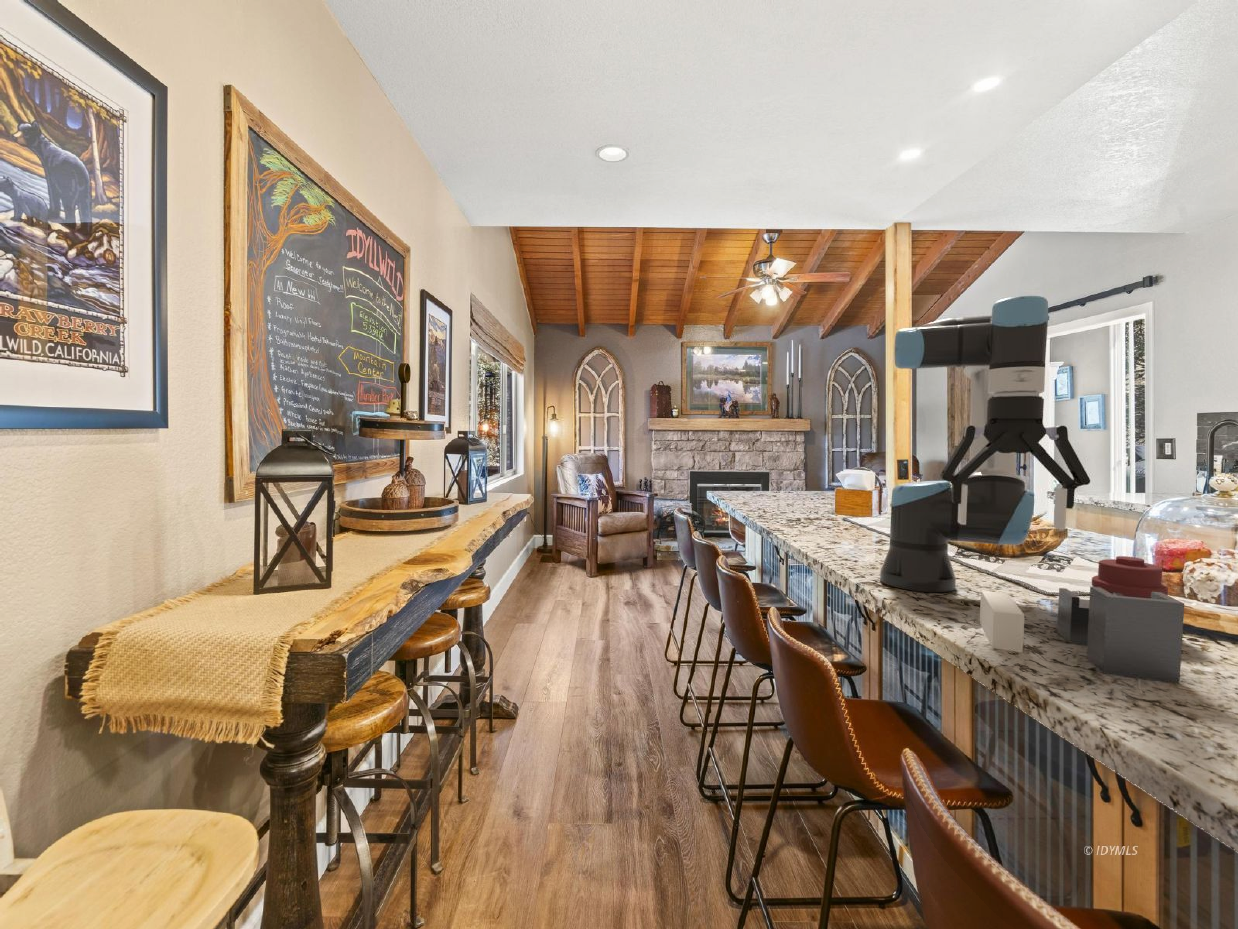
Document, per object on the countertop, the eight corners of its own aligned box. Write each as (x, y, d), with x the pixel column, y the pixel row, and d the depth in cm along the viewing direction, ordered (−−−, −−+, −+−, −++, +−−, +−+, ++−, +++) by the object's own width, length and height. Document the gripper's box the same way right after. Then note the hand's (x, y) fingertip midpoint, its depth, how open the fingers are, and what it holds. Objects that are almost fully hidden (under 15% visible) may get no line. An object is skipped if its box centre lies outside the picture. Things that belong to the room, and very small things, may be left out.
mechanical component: (1139, 621, 105) (1180, 639, 96) (1077, 617, 107) (1111, 635, 98) (1143, 554, 105) (1185, 566, 95) (1080, 551, 107) (1115, 562, 97)
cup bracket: (1086, 658, 87) (1090, 586, 86) (1157, 667, 84) (1161, 592, 83) (1103, 673, 81) (1107, 596, 81) (1179, 683, 78) (1184, 603, 78)
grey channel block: (1057, 631, 99) (1059, 587, 99) (1118, 638, 96) (1120, 593, 96) (1069, 643, 93) (1072, 596, 93) (1134, 650, 90) (1137, 602, 90)
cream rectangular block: (979, 623, 104) (981, 590, 103) (1006, 626, 102) (1007, 593, 102) (992, 649, 91) (993, 611, 91) (1022, 653, 89) (1024, 615, 89)
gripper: (931, 395, 94) (927, 524, 96) (1122, 393, 85) (1113, 535, 87) (925, 397, 101) (920, 518, 103) (1100, 395, 92) (1093, 527, 94)
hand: (1009, 526), depth 95 cm, fingers open, 13 cm apart
